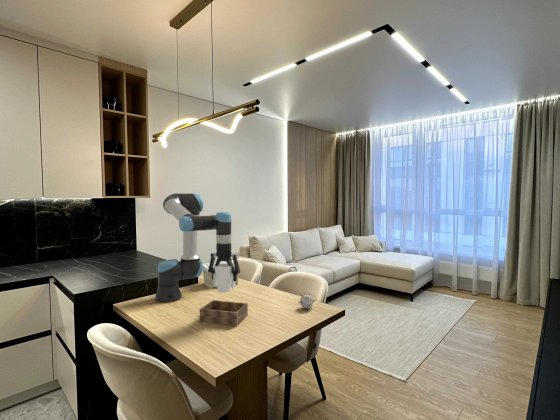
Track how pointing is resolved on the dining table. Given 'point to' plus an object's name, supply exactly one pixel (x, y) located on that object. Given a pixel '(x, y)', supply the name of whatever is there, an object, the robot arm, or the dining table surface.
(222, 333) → the dining table surface
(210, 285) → the storage basket
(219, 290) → the foam cup
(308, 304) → the grey spiked ball
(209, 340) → the dining table surface
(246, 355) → the dining table surface
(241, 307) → the brown wooden tray
